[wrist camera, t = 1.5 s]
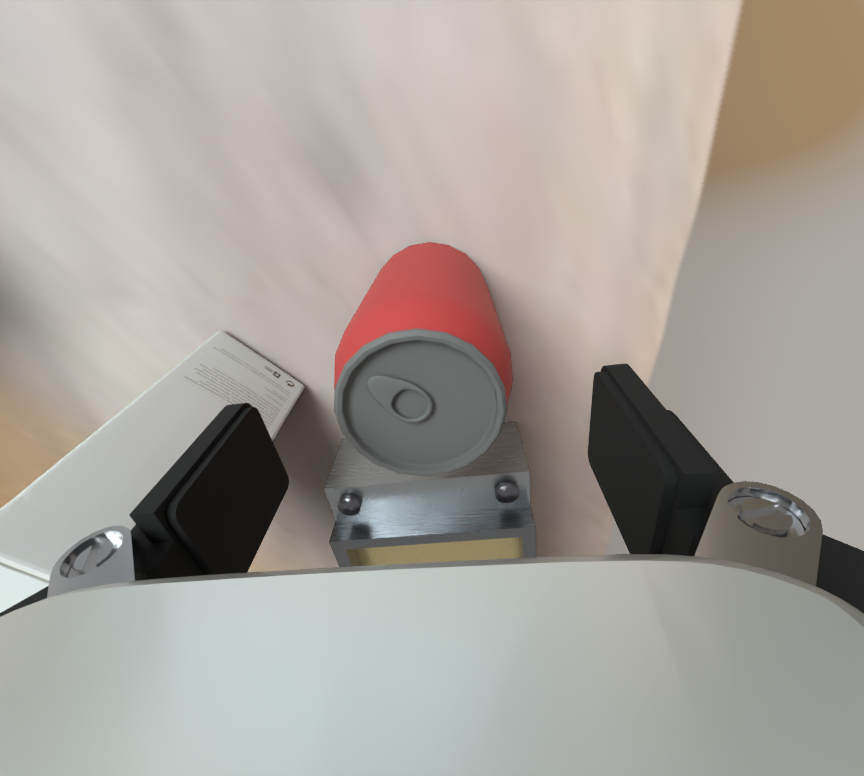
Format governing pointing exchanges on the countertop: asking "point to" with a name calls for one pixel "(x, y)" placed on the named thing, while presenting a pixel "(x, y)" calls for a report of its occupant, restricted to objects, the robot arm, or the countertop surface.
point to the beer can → (424, 365)
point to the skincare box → (132, 458)
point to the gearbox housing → (432, 509)
